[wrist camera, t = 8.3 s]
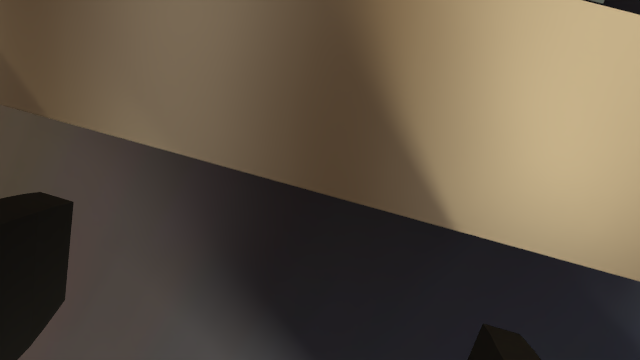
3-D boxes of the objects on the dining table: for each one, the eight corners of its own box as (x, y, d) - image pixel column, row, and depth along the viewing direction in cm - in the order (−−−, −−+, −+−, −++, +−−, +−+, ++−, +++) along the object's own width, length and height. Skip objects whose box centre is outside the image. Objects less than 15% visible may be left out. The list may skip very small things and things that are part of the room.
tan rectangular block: (719, 35, 13) (897, 80, 8) (640, 197, 14) (751, 312, 10) (116, -118, 13) (-38, -158, 9) (101, 52, 15) (-37, 94, 10)
